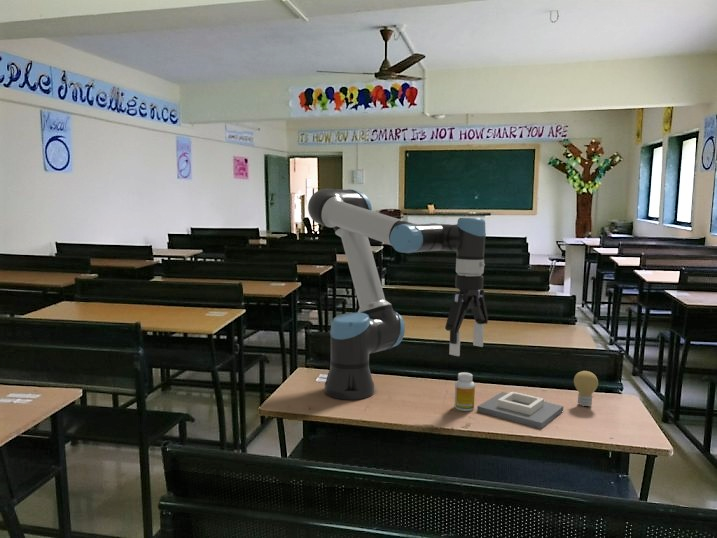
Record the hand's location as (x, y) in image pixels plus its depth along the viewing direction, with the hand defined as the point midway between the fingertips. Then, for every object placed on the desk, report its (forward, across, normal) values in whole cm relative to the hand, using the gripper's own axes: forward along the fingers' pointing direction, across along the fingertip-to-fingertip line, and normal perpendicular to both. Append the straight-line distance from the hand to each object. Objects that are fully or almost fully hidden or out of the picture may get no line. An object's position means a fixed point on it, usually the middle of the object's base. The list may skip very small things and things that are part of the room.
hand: (466, 350), depth 149 cm
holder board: (+16, +8, -13) cm, 22 cm away
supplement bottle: (+17, 0, 0) cm, 17 cm away
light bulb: (+17, +25, -25) cm, 39 cm away
